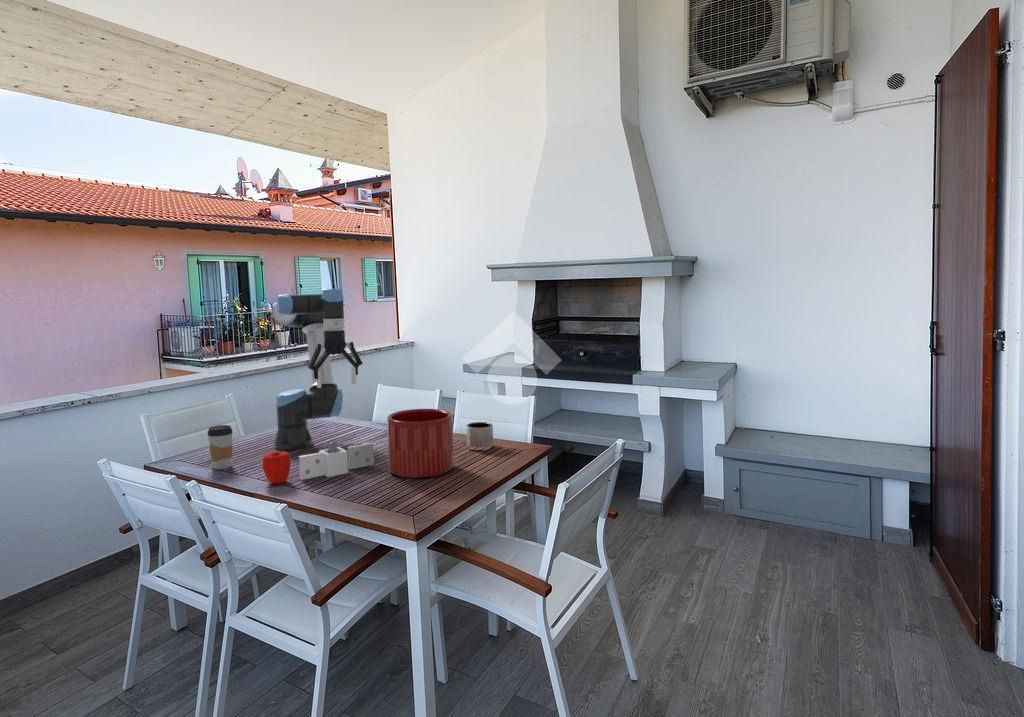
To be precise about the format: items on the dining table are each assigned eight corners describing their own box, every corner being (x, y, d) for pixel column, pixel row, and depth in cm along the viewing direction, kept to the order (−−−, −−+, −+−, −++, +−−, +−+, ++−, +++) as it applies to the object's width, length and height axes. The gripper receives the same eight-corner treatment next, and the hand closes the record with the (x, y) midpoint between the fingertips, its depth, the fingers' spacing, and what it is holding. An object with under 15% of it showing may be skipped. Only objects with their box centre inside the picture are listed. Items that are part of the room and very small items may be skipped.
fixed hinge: (297, 476, 202) (296, 454, 201) (340, 468, 211) (339, 446, 210) (304, 482, 196) (303, 459, 195) (348, 473, 205) (347, 451, 204)
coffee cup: (240, 464, 216) (237, 425, 215) (222, 471, 208) (219, 430, 207) (222, 462, 219) (220, 424, 217) (204, 469, 211) (201, 429, 209)
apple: (263, 488, 189) (261, 456, 188) (263, 481, 197) (261, 450, 196) (292, 485, 193) (290, 453, 192) (291, 477, 201) (289, 447, 200)
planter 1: (399, 484, 193) (397, 425, 190) (381, 466, 213) (379, 412, 210) (463, 473, 203) (462, 417, 201) (440, 457, 223) (439, 406, 221)
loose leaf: (348, 468, 210) (347, 446, 209) (372, 463, 215) (371, 442, 214) (350, 469, 208) (349, 447, 207) (374, 465, 213) (373, 443, 212)
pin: (328, 472, 206) (326, 442, 205) (336, 470, 208) (334, 441, 207) (331, 474, 204) (329, 444, 202) (339, 472, 205) (337, 442, 204)
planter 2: (495, 450, 233) (495, 427, 232) (469, 452, 230) (468, 428, 229) (490, 443, 243) (489, 421, 242) (464, 445, 240) (464, 422, 239)
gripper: (303, 332, 206) (306, 390, 209) (369, 328, 221) (371, 383, 224) (297, 331, 212) (300, 387, 214) (361, 327, 227) (363, 381, 230)
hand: (336, 385), depth 219 cm, fingers open, 13 cm apart
